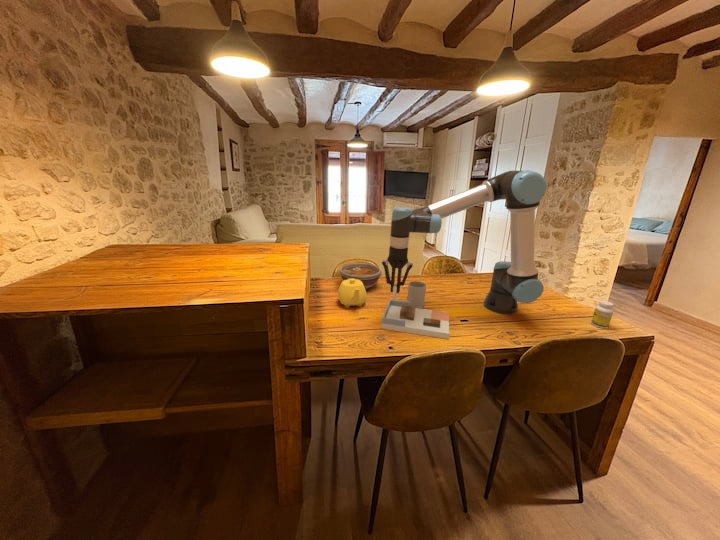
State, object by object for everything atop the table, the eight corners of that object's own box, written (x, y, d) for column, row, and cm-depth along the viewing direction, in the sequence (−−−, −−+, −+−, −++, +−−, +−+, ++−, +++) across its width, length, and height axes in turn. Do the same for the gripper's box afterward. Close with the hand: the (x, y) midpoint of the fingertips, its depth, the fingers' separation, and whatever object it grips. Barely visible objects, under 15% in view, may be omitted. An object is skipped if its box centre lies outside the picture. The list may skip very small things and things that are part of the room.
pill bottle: (591, 320, 137) (598, 298, 133) (608, 325, 133) (615, 302, 129) (590, 325, 132) (597, 302, 128) (607, 330, 128) (615, 307, 125)
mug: (425, 308, 143) (428, 287, 140) (408, 308, 143) (410, 287, 140) (420, 298, 155) (422, 278, 151) (404, 298, 154) (405, 278, 151)
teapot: (361, 295, 157) (361, 272, 152) (371, 312, 138) (373, 287, 134) (335, 297, 153) (335, 273, 149) (342, 315, 135) (343, 289, 131)
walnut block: (415, 314, 132) (415, 307, 131) (413, 320, 127) (414, 313, 126) (401, 312, 134) (402, 305, 132) (399, 318, 128) (400, 311, 127)
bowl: (335, 280, 176) (335, 264, 173) (372, 277, 183) (372, 261, 180) (345, 295, 156) (345, 277, 153) (386, 291, 162) (387, 274, 159)
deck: (448, 317, 136) (449, 307, 134) (448, 339, 118) (450, 328, 117) (389, 309, 142) (389, 299, 140) (381, 328, 125) (382, 317, 123)
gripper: (415, 245, 123) (410, 298, 131) (384, 242, 127) (381, 293, 134) (414, 250, 117) (408, 305, 124) (381, 246, 120) (377, 300, 127)
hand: (394, 299), depth 129 cm, fingers closed
